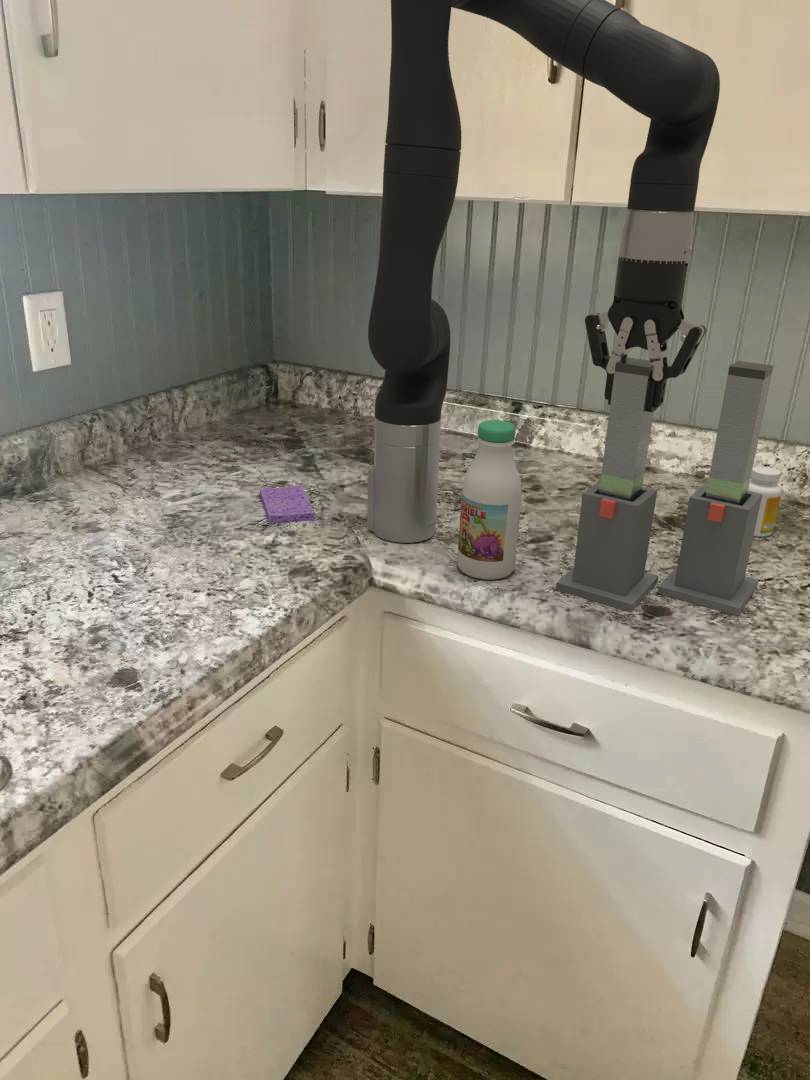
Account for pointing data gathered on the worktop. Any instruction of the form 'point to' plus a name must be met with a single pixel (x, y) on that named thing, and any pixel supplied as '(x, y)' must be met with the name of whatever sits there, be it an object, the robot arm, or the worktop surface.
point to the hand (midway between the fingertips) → (632, 406)
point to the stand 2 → (715, 554)
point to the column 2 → (738, 431)
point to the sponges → (286, 504)
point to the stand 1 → (612, 550)
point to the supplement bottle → (766, 498)
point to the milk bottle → (490, 505)
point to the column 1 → (627, 431)
